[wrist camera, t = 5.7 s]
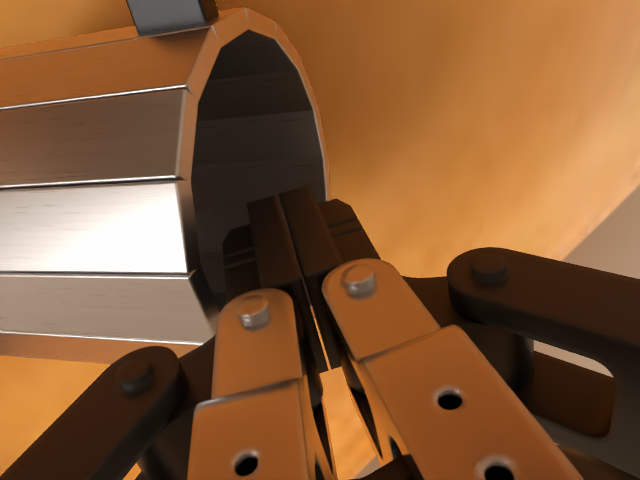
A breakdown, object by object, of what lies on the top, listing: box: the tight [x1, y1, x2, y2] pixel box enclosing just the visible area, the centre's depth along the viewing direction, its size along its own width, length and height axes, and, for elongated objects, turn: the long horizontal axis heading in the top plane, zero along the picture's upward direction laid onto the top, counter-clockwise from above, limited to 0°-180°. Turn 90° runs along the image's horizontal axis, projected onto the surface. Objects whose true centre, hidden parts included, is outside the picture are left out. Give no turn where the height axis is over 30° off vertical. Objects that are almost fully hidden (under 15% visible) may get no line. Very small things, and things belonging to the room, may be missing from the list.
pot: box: [0, 0, 331, 364], centre depth 15 cm, size 9×12×9 cm
